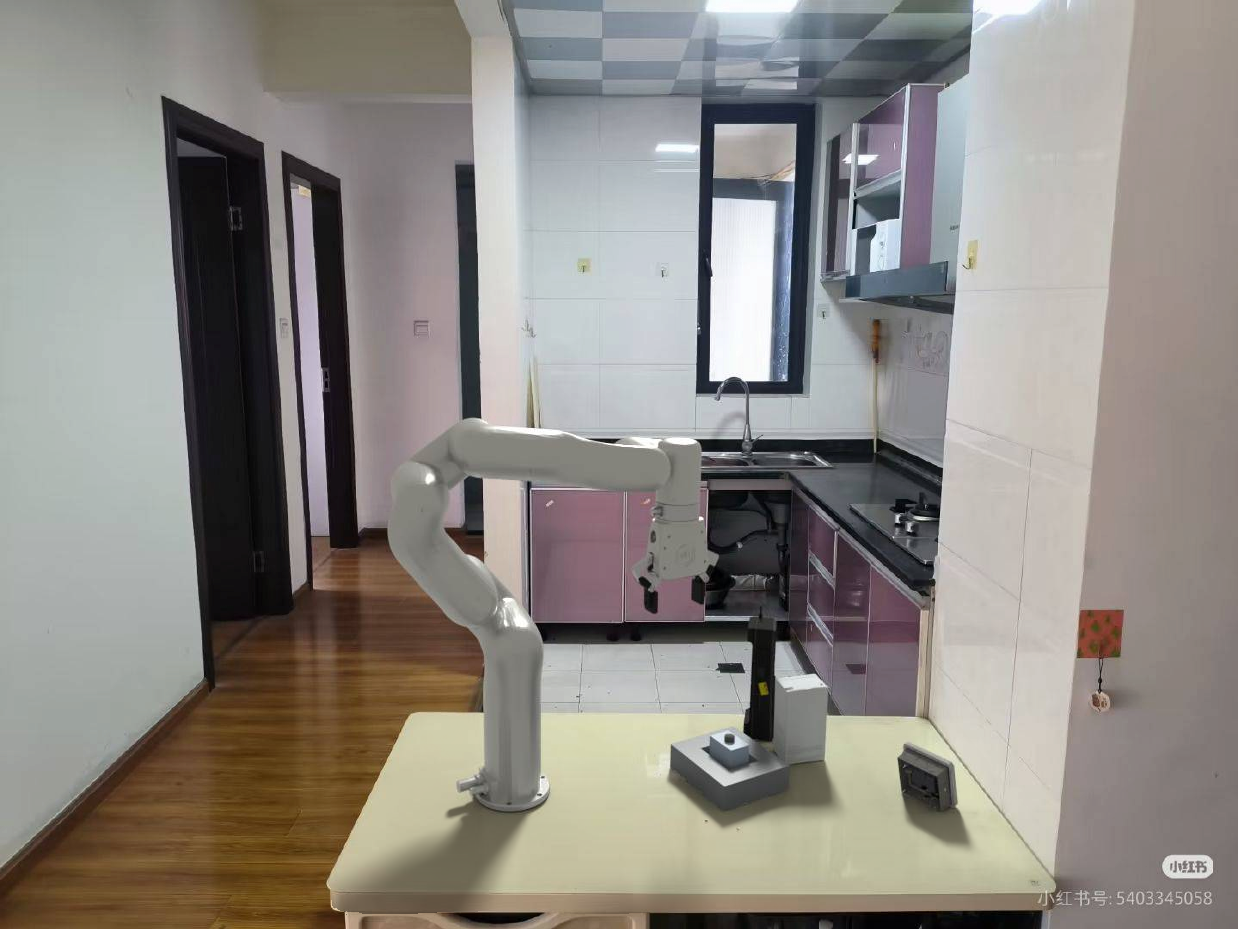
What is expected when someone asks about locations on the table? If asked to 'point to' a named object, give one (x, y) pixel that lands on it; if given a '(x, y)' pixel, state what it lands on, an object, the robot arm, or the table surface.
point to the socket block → (729, 771)
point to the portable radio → (761, 678)
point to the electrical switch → (927, 777)
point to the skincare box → (800, 718)
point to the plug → (729, 750)
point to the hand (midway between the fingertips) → (674, 606)
